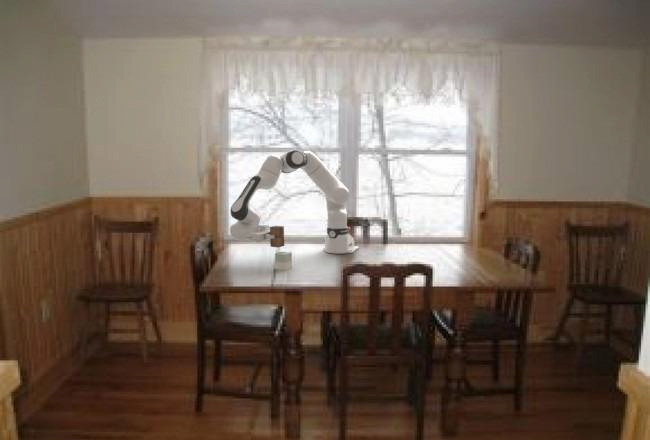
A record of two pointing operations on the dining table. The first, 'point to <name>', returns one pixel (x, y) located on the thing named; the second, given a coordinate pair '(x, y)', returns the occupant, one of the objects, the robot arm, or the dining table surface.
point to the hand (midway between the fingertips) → (278, 235)
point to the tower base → (283, 265)
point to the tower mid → (283, 257)
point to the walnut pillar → (277, 236)
